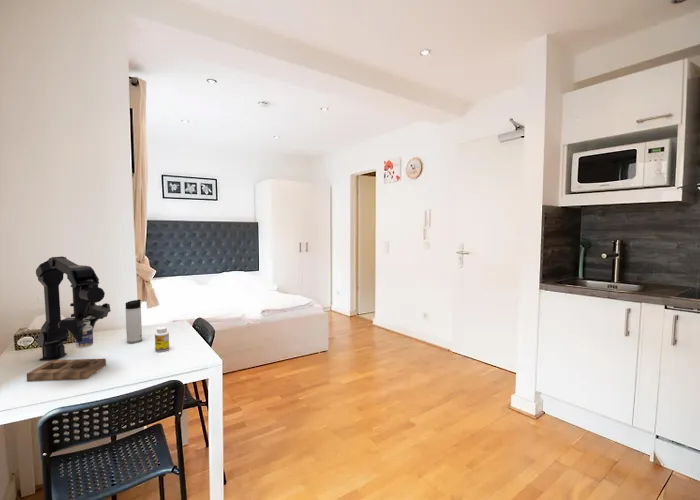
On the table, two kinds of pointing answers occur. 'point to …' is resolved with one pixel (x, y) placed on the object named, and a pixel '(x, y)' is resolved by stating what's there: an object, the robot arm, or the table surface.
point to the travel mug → (133, 321)
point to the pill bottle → (86, 336)
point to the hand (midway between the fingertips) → (84, 339)
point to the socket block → (66, 369)
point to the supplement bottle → (161, 339)
